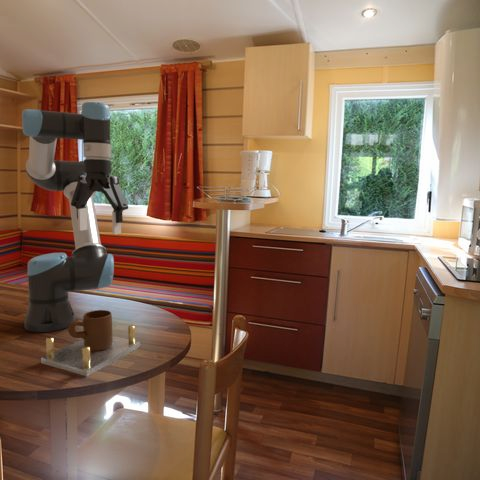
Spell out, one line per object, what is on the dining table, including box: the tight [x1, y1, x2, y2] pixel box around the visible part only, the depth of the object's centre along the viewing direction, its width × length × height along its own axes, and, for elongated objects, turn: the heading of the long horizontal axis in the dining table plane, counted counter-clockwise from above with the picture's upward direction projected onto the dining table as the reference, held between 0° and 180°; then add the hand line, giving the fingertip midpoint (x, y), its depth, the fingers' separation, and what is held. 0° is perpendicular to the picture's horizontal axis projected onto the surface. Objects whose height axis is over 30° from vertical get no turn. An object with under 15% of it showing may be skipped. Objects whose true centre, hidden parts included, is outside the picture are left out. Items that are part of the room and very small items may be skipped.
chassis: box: [40, 324, 141, 377], centre depth 109 cm, size 16×20×6 cm
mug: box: [67, 309, 113, 351], centre depth 109 cm, size 12×8×9 cm, turn 138°
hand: (99, 232), depth 118 cm, fingers open, 13 cm apart
